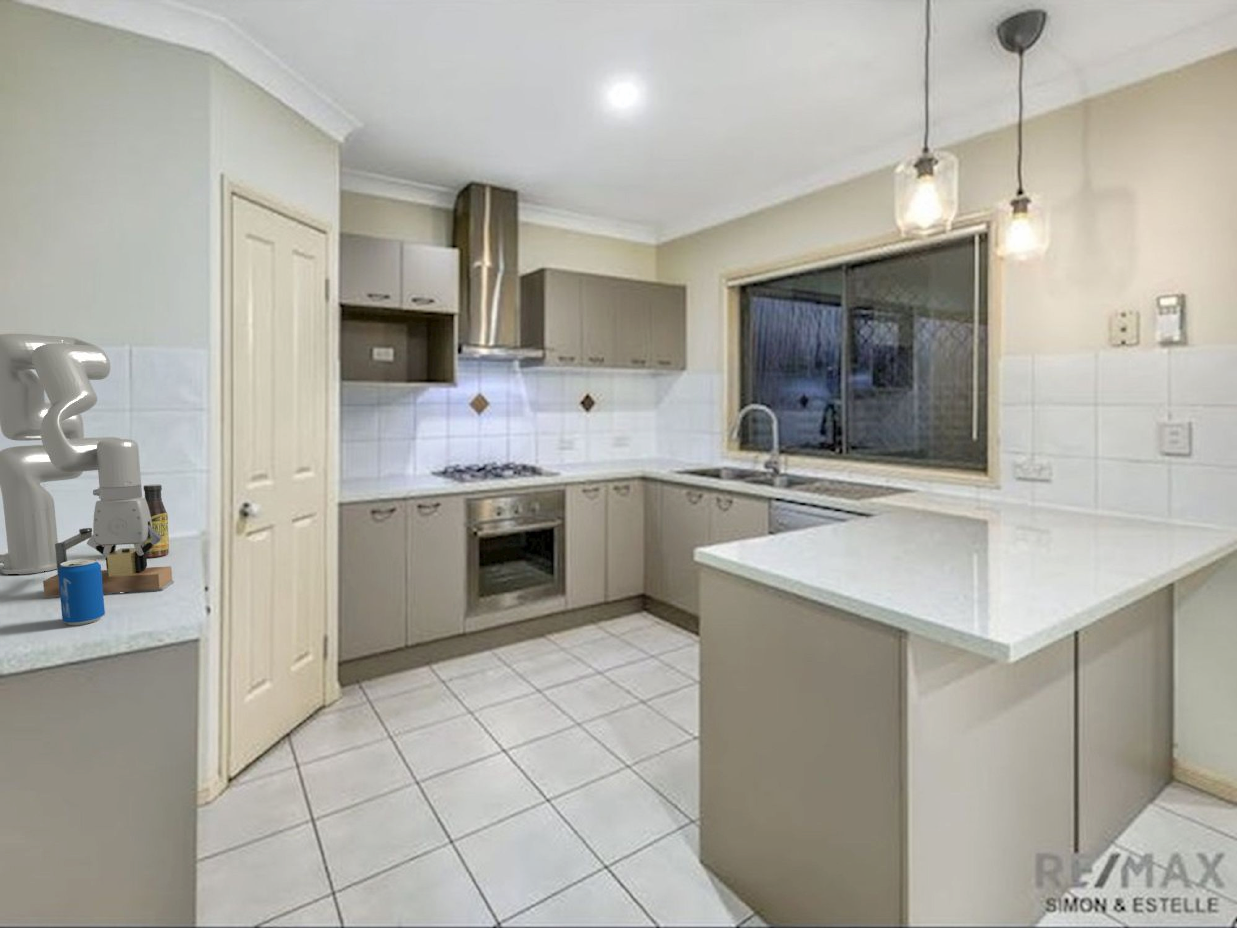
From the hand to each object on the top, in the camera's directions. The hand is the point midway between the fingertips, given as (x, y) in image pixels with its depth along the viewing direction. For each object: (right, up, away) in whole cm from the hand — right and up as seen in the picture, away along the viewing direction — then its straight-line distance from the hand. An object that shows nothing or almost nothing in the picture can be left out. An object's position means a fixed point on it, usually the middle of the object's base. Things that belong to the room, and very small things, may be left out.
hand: (127, 571), depth 147 cm
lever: (-15, +1, +3) cm, 15 cm away
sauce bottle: (-16, -1, +31) cm, 35 cm away
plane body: (-3, -4, 0) cm, 5 cm away
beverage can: (+7, -7, -20) cm, 22 cm away
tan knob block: (0, 0, 0) cm, 0 cm away
